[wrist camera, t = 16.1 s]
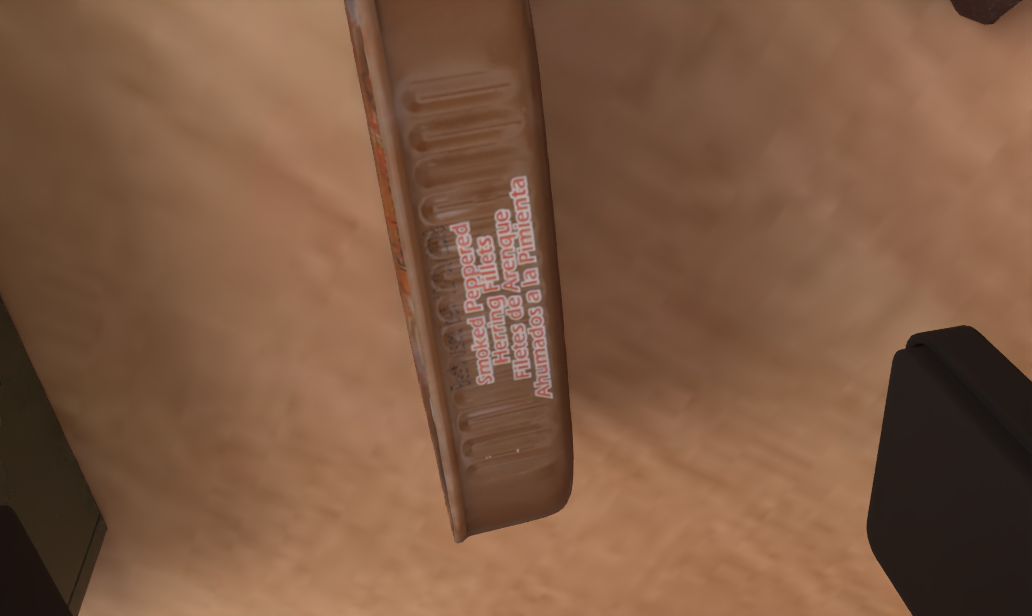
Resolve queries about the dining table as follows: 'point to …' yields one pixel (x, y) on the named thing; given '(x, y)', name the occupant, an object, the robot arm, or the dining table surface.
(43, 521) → the box
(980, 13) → the ice cream bar
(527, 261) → the tin
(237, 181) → the dining table surface
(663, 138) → the dining table surface
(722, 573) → the dining table surface
